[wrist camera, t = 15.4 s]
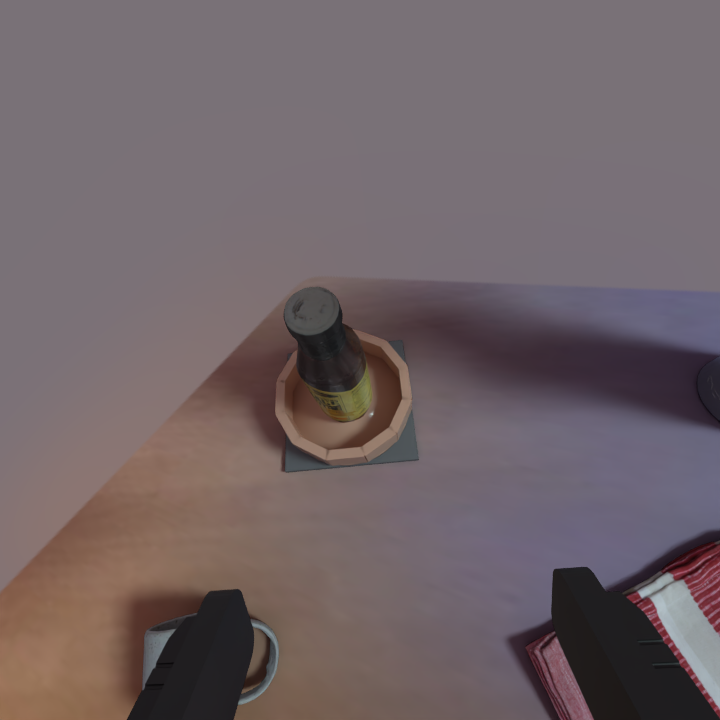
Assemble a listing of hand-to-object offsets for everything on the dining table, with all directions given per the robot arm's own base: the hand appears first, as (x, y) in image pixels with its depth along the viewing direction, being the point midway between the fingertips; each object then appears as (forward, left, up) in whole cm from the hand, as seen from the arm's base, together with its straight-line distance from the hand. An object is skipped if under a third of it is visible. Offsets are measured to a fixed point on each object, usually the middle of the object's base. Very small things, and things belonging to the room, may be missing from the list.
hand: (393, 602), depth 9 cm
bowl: (+5, -17, -30) cm, 35 cm away
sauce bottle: (+5, -16, -29) cm, 34 cm away
